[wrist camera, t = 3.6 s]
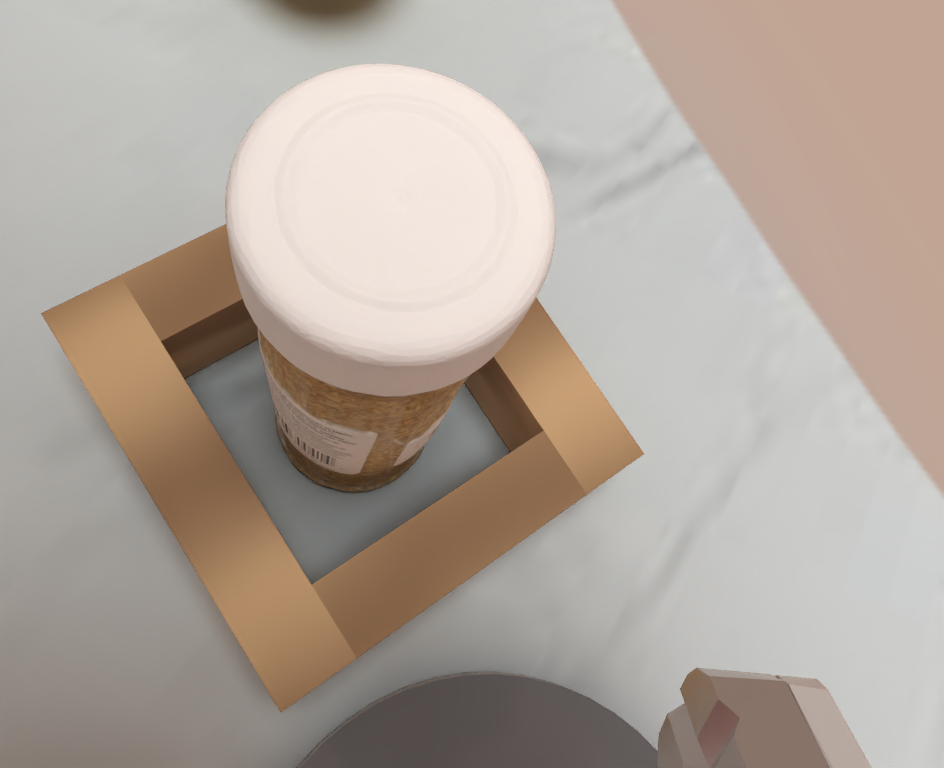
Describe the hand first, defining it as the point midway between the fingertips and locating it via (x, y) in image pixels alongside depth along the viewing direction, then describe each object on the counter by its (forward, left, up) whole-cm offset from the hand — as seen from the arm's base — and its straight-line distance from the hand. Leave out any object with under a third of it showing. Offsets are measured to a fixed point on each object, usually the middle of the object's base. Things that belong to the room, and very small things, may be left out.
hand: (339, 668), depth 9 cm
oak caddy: (-5, +4, -13) cm, 15 cm away
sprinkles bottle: (-5, +4, -14) cm, 15 cm away
